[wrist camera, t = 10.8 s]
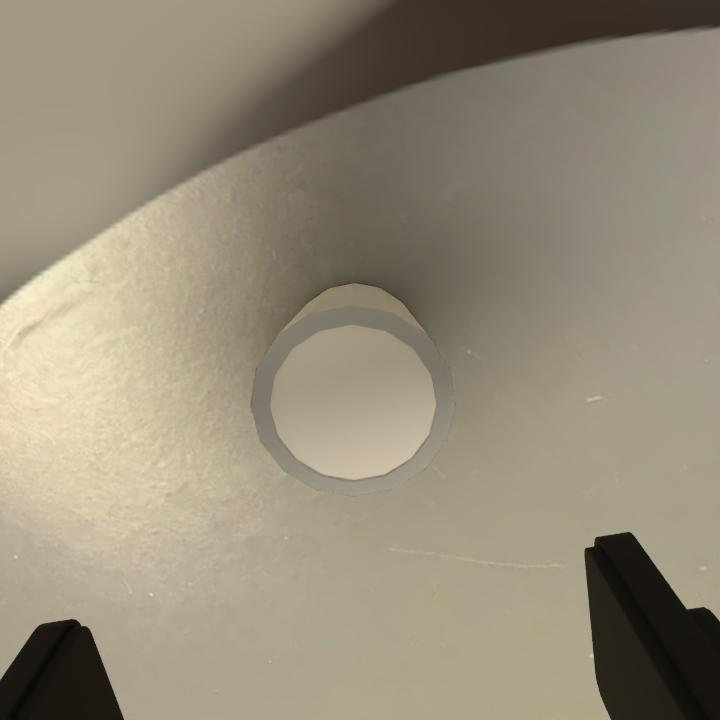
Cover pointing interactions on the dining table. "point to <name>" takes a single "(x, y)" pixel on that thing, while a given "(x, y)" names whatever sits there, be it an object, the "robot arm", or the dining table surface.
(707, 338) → the dining table surface
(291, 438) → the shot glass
